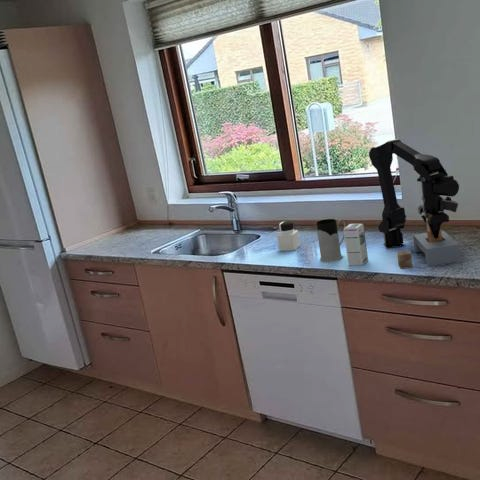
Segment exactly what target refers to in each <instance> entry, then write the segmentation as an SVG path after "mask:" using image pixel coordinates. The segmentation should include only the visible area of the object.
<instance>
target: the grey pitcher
mask: <svg viewBox="0 0 480 480" xmlns="http://www.w3.org/2000/svg"><path fill="white" fill-rule="evenodd" d="M341 221H342V222H343V229H344V228H345V227H346V226H347V225H346V221H345V220H344V219H341V218H340V219H339V220H336V219H335V218H326V219H321V220H319V221H317V222H316V228H317V230H316V231H317V239H318V246H319V247H318V248H319V252H320V253H319V254H320V257H319V258H320V259H319V261H320V262H321V263H322V262H323V263H333V262H338V261H339V260H342V259H343V257H344V256H343V255H342V252H341V245H342V244H343V241H344V240H345V237H344V234H343V235H342V238H341V240H340V237H339V230H340V229H339V224H340V222H341Z"/></svg>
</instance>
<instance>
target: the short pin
mask: <svg viewBox="0 0 480 480" xmlns="http://www.w3.org/2000/svg"><path fill="white" fill-rule="evenodd" d="M396 254H397V263H398V267H399V268H400V269H403V270H404V269H409V268H413V258H412V257H413V256H412V252H411V251H410V250H408V249H407V250H402V251H397V253H396Z"/></svg>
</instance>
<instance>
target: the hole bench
mask: <svg viewBox="0 0 480 480" xmlns="http://www.w3.org/2000/svg"><path fill="white" fill-rule="evenodd" d="M441 231H442V241H438V242H431V243H429V242H428V235H427V232H423V233H417V234H412V235H413V236H412V237H413V246H414V251H415V252H416V253H419V252H423V253H424V259H425V264H426V265H427V266H428V267H429V266H438V265H444V263H445V264H450V263H457V262H462V258H461V246H460V243H459V242H458V241H456V240H455V239H454V238H453V237H452V236H451V235H449V234H448V233H447V232H446V231H445V230H441ZM437 264H438V265H437Z"/></svg>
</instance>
